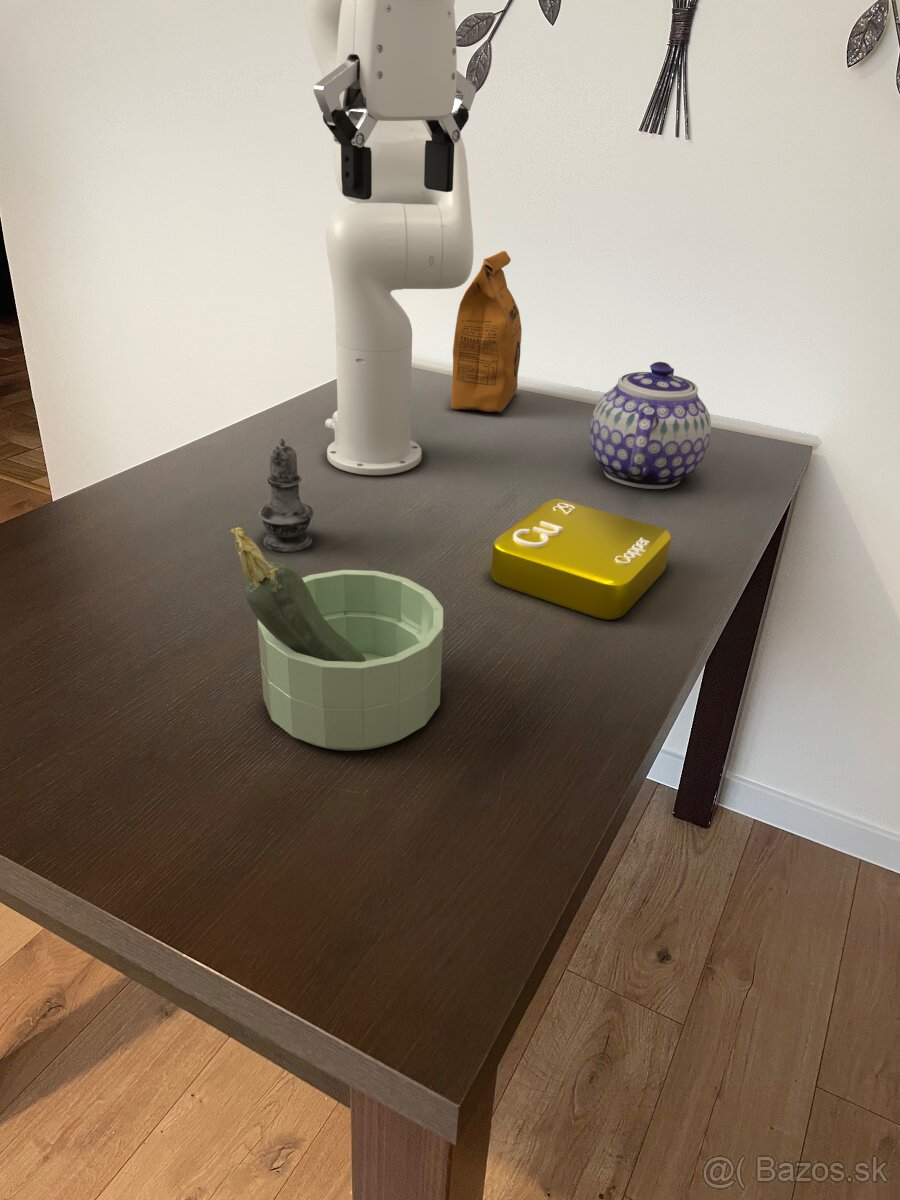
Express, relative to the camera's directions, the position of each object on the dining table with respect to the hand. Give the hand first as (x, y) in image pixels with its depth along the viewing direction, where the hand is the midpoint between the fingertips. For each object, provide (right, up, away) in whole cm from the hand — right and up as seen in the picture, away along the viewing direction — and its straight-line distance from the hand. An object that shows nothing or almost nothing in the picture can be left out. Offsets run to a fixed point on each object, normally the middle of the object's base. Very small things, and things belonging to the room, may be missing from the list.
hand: (399, 193), depth 82 cm
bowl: (-4, -44, -4) cm, 45 cm away
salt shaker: (-13, -30, +20) cm, 38 cm away
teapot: (+30, -20, +41) cm, 54 cm away
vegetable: (-3, -44, -4) cm, 44 cm away
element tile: (+18, -33, +17) cm, 42 cm away
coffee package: (+10, -5, +63) cm, 64 cm away
